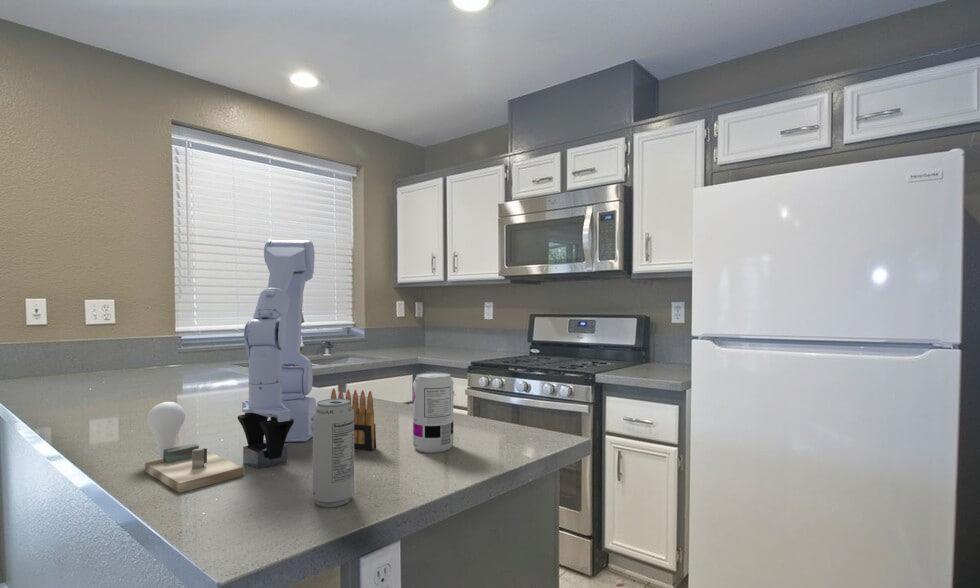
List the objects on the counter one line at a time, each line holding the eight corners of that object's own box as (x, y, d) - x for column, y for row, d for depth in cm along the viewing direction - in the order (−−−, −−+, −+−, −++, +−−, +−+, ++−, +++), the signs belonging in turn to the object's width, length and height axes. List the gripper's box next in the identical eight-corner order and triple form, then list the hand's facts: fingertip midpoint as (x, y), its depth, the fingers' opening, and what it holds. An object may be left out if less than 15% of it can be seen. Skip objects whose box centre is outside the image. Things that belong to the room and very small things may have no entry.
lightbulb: (166, 465, 93) (166, 405, 93) (138, 463, 94) (139, 404, 95) (192, 455, 99) (192, 399, 99) (165, 453, 100) (166, 398, 101)
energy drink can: (334, 490, 81) (335, 396, 81) (362, 497, 78) (362, 400, 78) (303, 503, 76) (304, 403, 76) (332, 511, 73) (332, 407, 73)
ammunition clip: (376, 448, 104) (376, 390, 104) (371, 451, 102) (371, 391, 102) (332, 444, 107) (332, 387, 107) (326, 446, 106) (327, 388, 106)
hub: (243, 462, 95) (243, 446, 95) (271, 455, 99) (272, 440, 99) (257, 468, 91) (257, 452, 91) (286, 461, 96) (286, 445, 96)
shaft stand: (144, 471, 90) (144, 445, 90) (204, 457, 98) (204, 434, 98) (179, 492, 80) (179, 464, 80) (243, 475, 88) (243, 449, 88)
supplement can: (405, 451, 102) (405, 376, 102) (425, 440, 110) (425, 371, 110) (441, 455, 99) (441, 379, 99) (459, 444, 107) (459, 373, 107)
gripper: (226, 380, 97) (225, 452, 97) (263, 389, 88) (263, 467, 88) (262, 376, 102) (262, 443, 102) (301, 383, 93) (300, 457, 93)
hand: (265, 454), depth 95 cm, fingers open, 7 cm apart
